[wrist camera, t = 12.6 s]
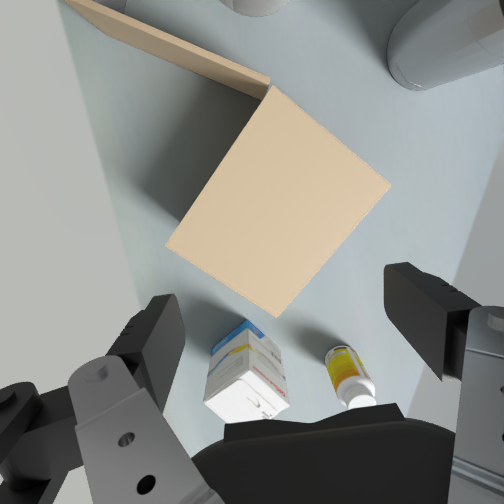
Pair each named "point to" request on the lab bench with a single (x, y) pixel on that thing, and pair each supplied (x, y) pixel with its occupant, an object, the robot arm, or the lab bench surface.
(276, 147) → the carton
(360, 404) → the supplement bottle
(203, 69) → the carton flap
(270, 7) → the toilet paper roll
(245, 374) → the ink box
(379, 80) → the lab bench surface
